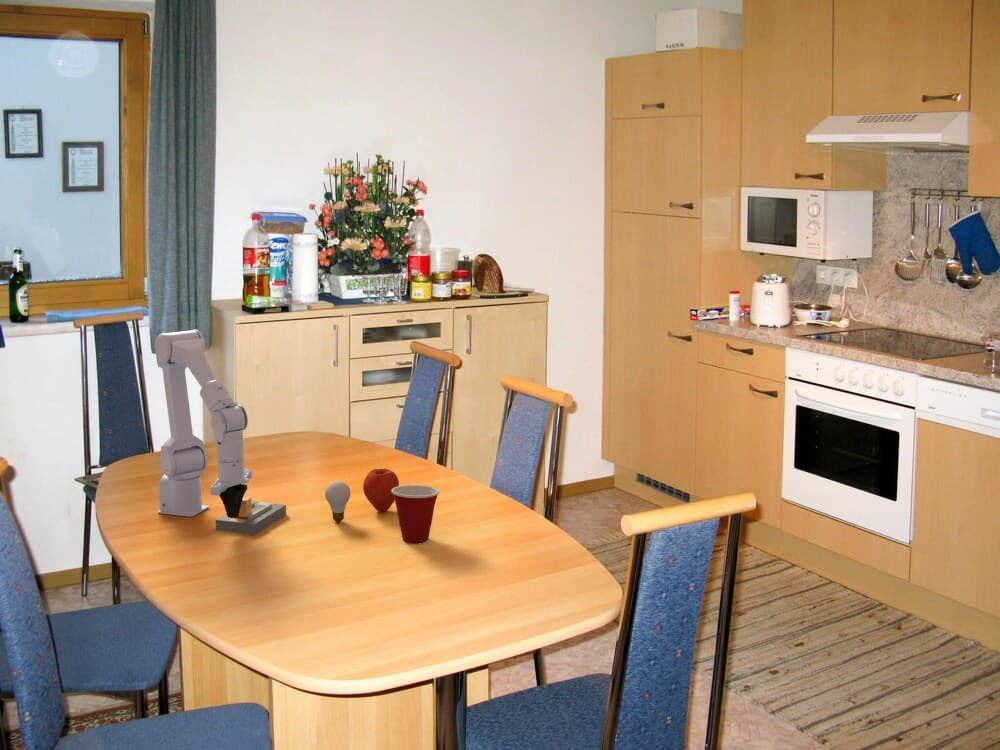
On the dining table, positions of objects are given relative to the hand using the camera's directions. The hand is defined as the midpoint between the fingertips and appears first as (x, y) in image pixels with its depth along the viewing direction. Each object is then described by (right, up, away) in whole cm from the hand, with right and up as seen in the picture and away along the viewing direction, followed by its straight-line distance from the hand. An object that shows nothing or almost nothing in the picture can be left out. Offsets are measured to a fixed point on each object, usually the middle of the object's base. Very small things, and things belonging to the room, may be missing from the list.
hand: (233, 516), depth 254 cm
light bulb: (+23, -3, +9) cm, 25 cm away
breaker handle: (+1, 0, +4) cm, 5 cm away
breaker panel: (+2, -2, +8) cm, 9 cm away
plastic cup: (+42, -5, -2) cm, 42 cm away
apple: (+32, -1, +17) cm, 36 cm away
